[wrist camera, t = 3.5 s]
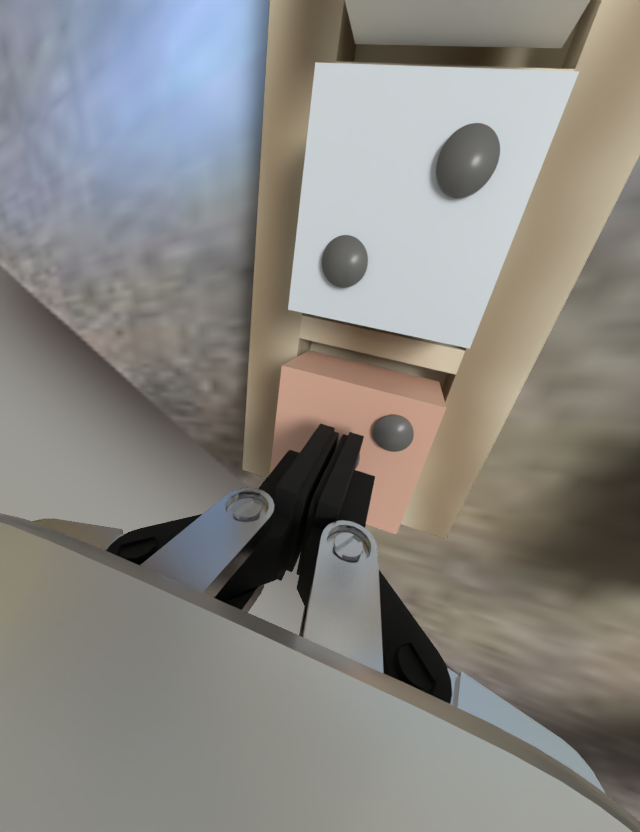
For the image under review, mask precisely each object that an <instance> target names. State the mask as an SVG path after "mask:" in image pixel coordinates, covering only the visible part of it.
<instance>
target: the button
mask: <svg viewBox="0 0 640 832" xmlns="http://www.w3.org/2000/svg"><path fill="white" fill-rule="evenodd" d="M589 2H590V0H345V3H346V7H347V12H348V16H349V20H350V24H351V28H352V33H353V37H354V41H355V44H373V45H421V46H470V47H518V48H562V47H563V45H564V43H565V42H566V40H567V38H568V37H569V35H570V33H571V32H572V30H573V29H574V27H575V25H576V24H577V22H578V20H579V19H580V17H581V15H582V14H583V12H584V10H585V9H586V7H587V5H588V4H589Z"/></svg>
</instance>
